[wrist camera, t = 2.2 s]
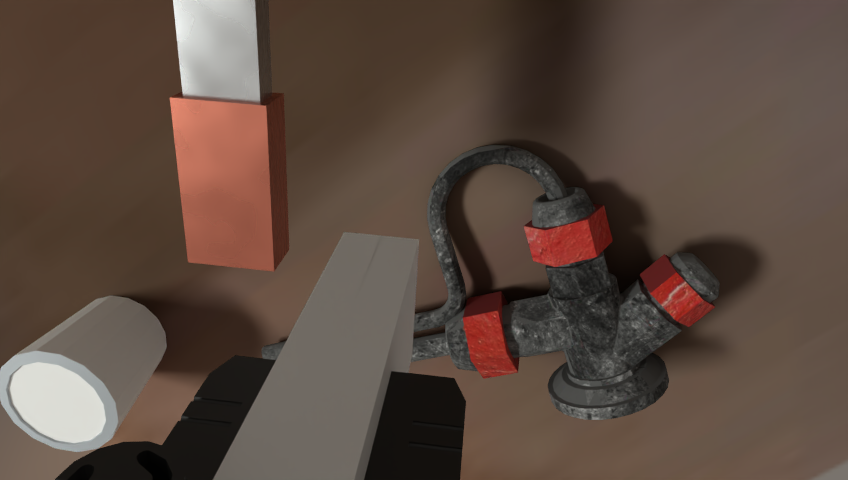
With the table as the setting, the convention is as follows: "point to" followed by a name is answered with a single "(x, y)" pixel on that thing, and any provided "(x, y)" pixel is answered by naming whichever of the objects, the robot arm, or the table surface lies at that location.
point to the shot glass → (83, 374)
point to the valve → (562, 301)
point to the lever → (230, 136)
